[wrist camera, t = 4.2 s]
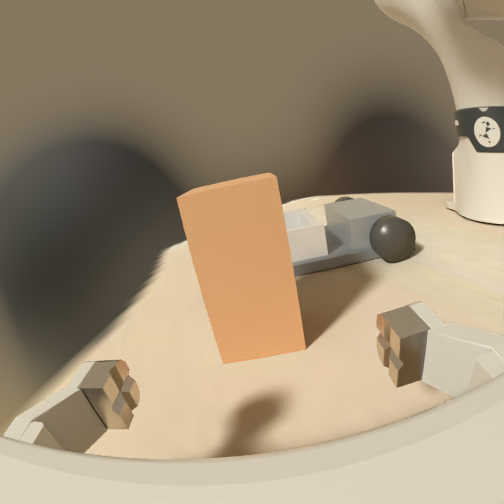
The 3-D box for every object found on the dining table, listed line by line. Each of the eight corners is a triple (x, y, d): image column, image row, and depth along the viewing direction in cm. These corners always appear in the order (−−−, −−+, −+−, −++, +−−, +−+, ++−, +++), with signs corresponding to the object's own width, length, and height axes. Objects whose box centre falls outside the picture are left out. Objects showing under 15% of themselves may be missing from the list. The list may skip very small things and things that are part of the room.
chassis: (367, 221, 41) (363, 193, 40) (424, 255, 26) (423, 214, 25) (226, 249, 42) (219, 221, 41) (214, 300, 27) (202, 258, 26)
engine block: (294, 310, 22) (269, 172, 20) (305, 349, 18) (276, 176, 15) (227, 323, 23) (193, 188, 20) (223, 363, 18) (176, 197, 15)
